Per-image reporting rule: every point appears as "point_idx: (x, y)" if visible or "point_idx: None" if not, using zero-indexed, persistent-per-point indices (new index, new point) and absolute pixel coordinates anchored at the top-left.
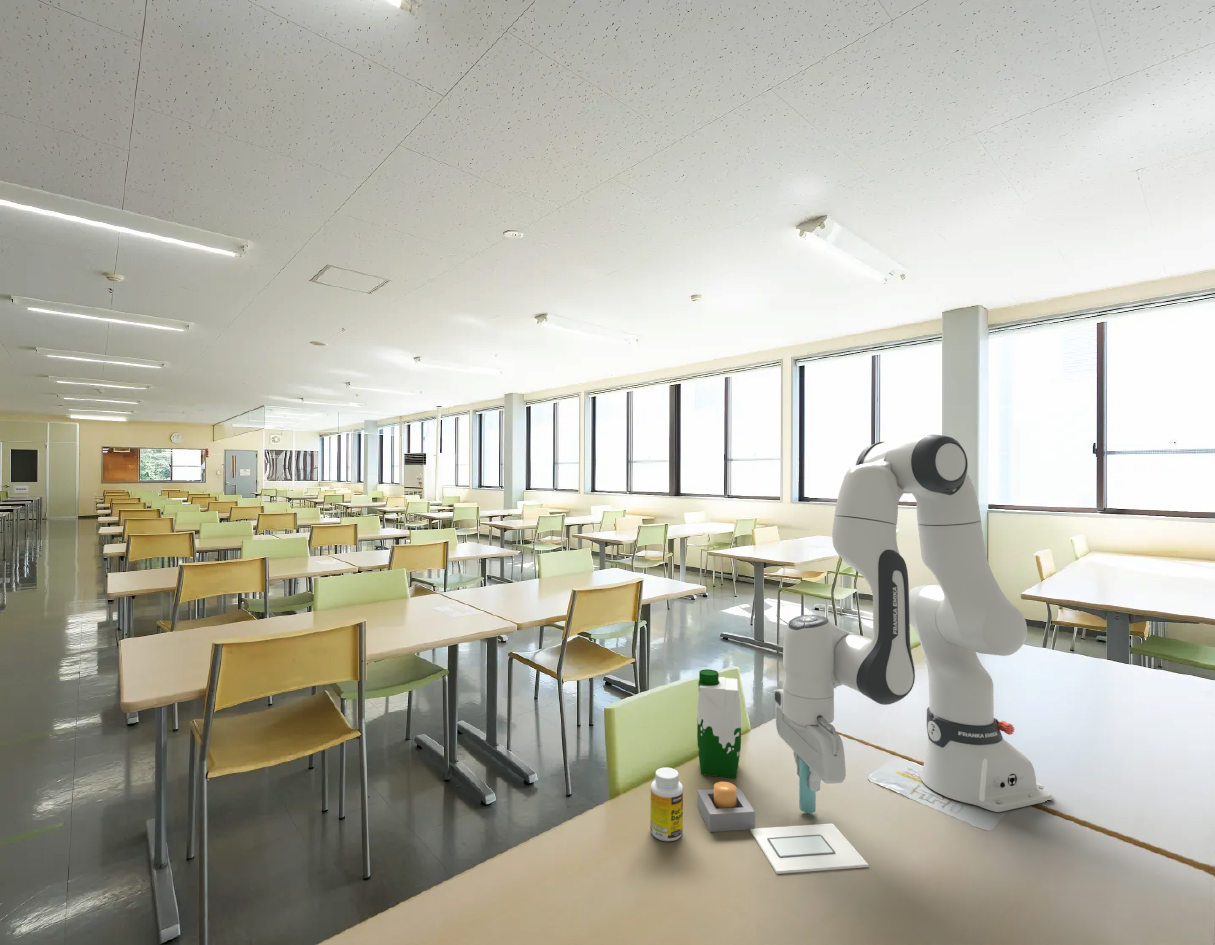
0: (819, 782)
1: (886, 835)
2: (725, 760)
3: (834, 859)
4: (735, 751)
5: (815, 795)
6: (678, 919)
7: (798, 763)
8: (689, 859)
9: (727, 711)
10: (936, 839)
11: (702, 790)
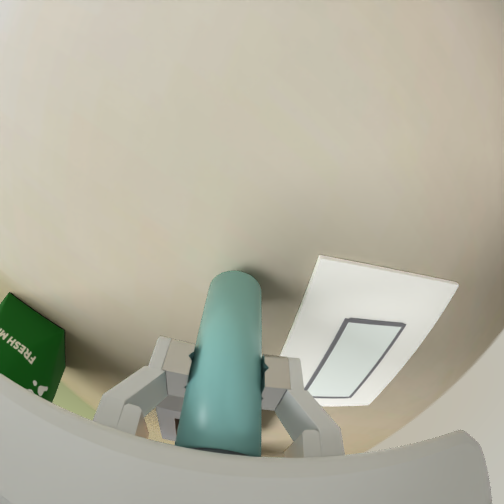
0: (301, 384)
1: (422, 134)
2: (54, 376)
3: (412, 333)
4: (33, 371)
5: (254, 315)
6: (352, 452)
7: (156, 404)
8: (286, 445)
9: None
10: (466, 32)
11: (164, 436)
